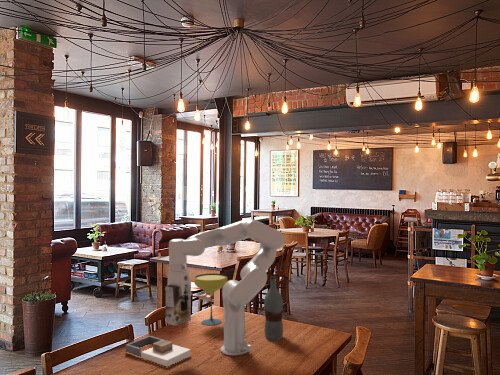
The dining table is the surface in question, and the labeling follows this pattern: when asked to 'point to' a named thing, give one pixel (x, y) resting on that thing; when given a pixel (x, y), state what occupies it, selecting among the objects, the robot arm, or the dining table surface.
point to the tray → (140, 344)
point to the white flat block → (167, 355)
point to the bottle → (273, 312)
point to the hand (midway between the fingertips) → (178, 308)
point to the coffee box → (176, 306)
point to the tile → (162, 346)
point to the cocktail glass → (210, 290)
